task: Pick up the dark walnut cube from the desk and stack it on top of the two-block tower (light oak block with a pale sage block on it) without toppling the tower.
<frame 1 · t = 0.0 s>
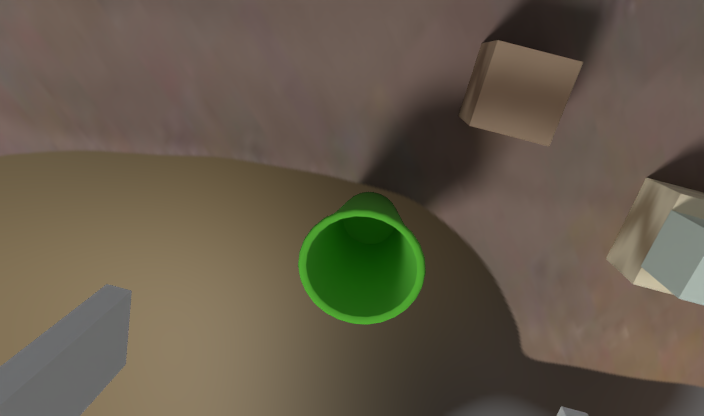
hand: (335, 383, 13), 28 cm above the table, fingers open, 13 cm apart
cup: (369, 216, 41), on the table
tower base: (668, 230, 39), on the table, touching tower top
walnut cube: (504, 89, 36), on the table
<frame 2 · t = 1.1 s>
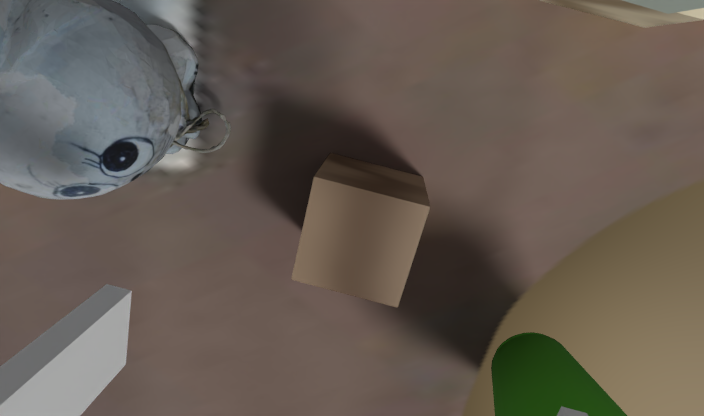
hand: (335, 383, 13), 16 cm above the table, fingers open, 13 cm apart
figurine: (164, 92, 27), on the table
cup: (527, 359, 31), on the table
walnut cube: (364, 208, 28), on the table
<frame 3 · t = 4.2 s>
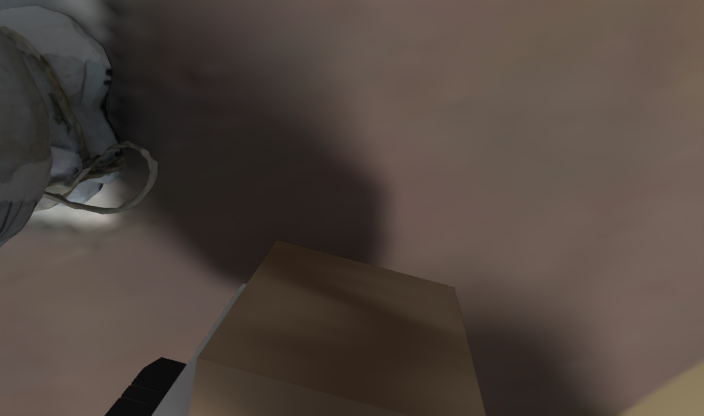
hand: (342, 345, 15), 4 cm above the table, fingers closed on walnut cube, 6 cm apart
figurine: (66, 111, 18), on the table
walnut cube: (344, 338, 15), point 4 cm above the table, touching gripper
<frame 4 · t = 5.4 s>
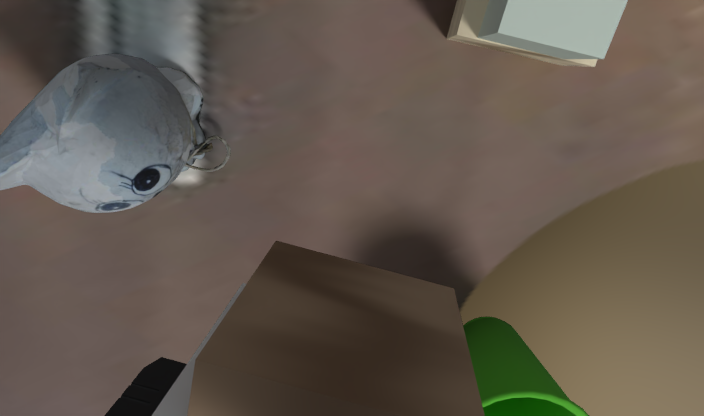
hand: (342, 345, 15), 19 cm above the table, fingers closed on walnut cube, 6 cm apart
figurine: (175, 120, 33), on the table
cup: (484, 340, 37), on the table
walnut cube: (343, 339, 15), point 19 cm above the table, touching gripper
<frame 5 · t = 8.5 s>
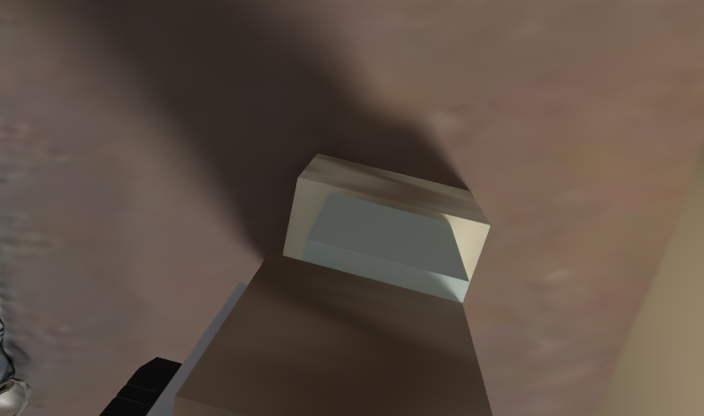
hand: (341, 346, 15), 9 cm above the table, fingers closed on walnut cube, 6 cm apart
tower top: (365, 291, 19), point 5 cm above the table, touching gripper, tower base
tower base: (374, 241, 24), on the table, touching tower top
walnut cube: (342, 356, 14), point 10 cm above the table, touching gripper
when the fingers open (9 cm above the table, at t = 8.5 s): walnut cube stays where it is, point 10 cm above the table.
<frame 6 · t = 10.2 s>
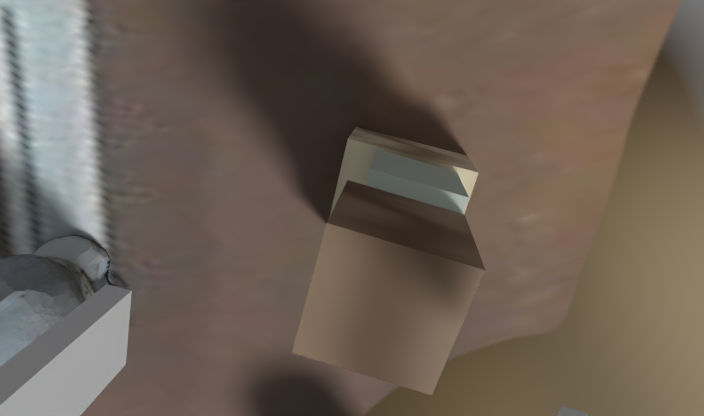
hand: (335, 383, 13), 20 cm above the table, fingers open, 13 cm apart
tower top: (396, 220, 27), point 5 cm above the table, touching tower base
figurine: (88, 275, 37), on the table
tower base: (396, 193, 32), on the table, touching tower top
walnut cube: (388, 250, 23), point 10 cm above the table
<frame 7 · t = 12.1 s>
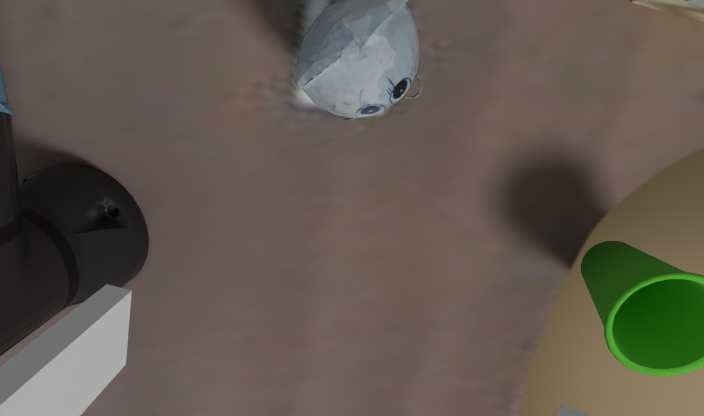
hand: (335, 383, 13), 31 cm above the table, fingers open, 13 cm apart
figurine: (371, 60, 40), on the table
cup: (606, 262, 43), on the table
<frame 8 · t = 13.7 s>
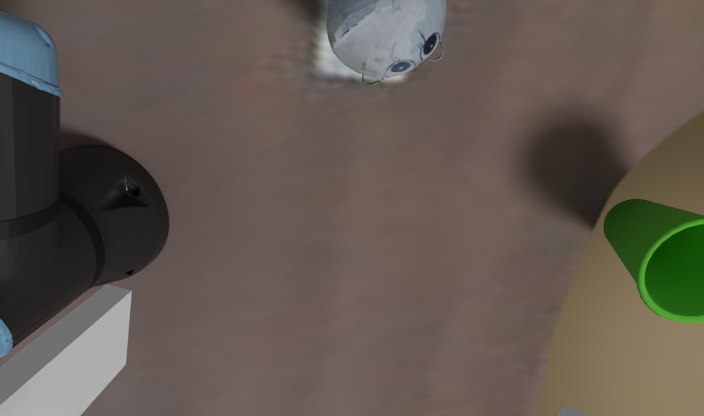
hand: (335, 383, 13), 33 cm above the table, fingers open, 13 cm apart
figurine: (390, 26, 40), on the table
cup: (628, 221, 44), on the table
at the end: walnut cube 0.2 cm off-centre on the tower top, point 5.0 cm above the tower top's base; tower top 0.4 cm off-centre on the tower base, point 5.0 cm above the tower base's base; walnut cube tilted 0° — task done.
